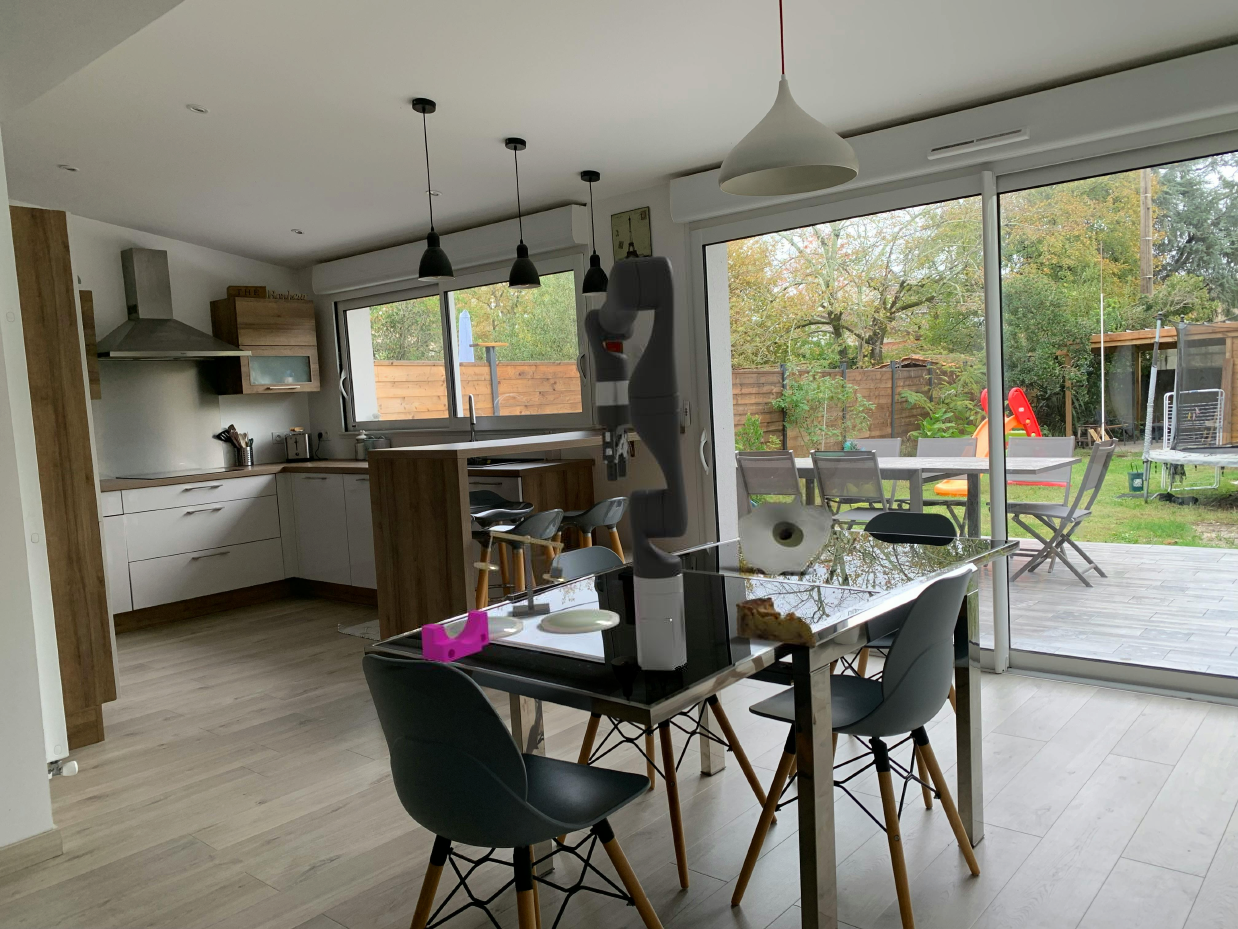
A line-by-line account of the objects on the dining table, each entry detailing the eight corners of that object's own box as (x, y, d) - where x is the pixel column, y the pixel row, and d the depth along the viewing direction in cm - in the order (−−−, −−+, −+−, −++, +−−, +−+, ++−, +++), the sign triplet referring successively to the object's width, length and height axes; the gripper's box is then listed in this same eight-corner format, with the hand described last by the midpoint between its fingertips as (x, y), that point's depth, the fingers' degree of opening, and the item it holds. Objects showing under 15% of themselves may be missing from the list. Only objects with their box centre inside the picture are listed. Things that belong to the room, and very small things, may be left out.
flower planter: (817, 602, 254) (724, 577, 265) (844, 510, 264) (753, 490, 275) (813, 584, 240) (715, 558, 251) (842, 488, 251) (747, 467, 262)
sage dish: (609, 635, 191) (608, 629, 191) (530, 634, 195) (530, 628, 195) (626, 614, 208) (626, 609, 208) (554, 613, 212) (554, 608, 212)
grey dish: (507, 643, 189) (507, 637, 188) (430, 642, 193) (429, 636, 193) (534, 621, 206) (533, 616, 206) (462, 621, 210) (462, 615, 210)
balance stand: (513, 610, 218) (508, 543, 217) (549, 607, 219) (545, 541, 218) (512, 616, 212) (508, 547, 211) (550, 613, 213) (546, 545, 212)
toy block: (444, 667, 175) (442, 630, 174) (423, 662, 178) (421, 626, 178) (497, 647, 187) (495, 613, 186) (477, 644, 190) (475, 610, 190)
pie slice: (733, 640, 183) (731, 602, 182) (768, 630, 189) (766, 593, 188) (797, 658, 168) (795, 617, 168) (833, 647, 174) (831, 608, 174)
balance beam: (474, 563, 216) (481, 526, 216) (566, 578, 219) (573, 542, 218) (473, 567, 210) (480, 529, 210) (567, 583, 213) (574, 546, 212)
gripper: (623, 402, 179) (627, 482, 180) (637, 401, 193) (641, 475, 194) (588, 404, 180) (592, 483, 182) (604, 403, 194) (608, 476, 196)
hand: (617, 478), depth 188 cm, fingers open, 8 cm apart
